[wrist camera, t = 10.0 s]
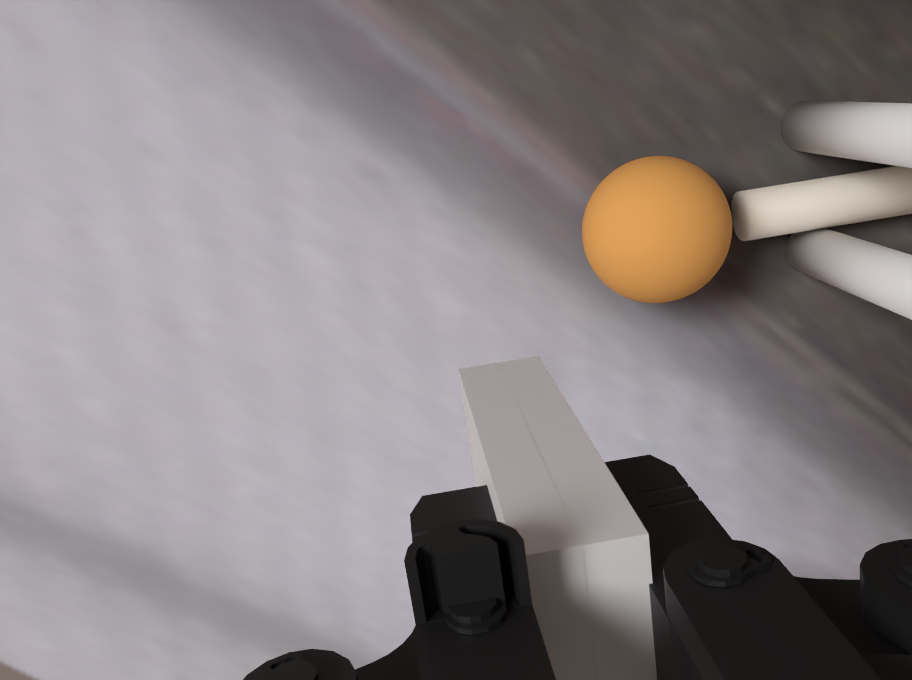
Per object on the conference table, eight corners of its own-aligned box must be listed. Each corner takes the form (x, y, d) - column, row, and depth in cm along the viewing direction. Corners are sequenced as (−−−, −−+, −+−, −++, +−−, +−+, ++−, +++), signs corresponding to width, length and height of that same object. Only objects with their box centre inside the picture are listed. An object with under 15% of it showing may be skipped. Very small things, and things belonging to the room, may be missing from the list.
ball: (647, 173, 28) (547, 166, 32) (655, 333, 30) (559, 304, 34) (764, 146, 30) (655, 143, 35) (765, 295, 32) (661, 273, 37)
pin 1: (829, 97, 34) (982, 100, 26) (829, 147, 35) (979, 167, 26) (781, 104, 34) (918, 110, 26) (782, 155, 35) (917, 177, 26)
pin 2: (831, 221, 36) (975, 263, 27) (831, 268, 36) (973, 323, 28) (784, 228, 36) (915, 273, 27) (785, 275, 36) (914, 333, 28)
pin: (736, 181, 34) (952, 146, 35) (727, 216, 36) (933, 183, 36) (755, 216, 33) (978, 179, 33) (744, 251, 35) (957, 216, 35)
